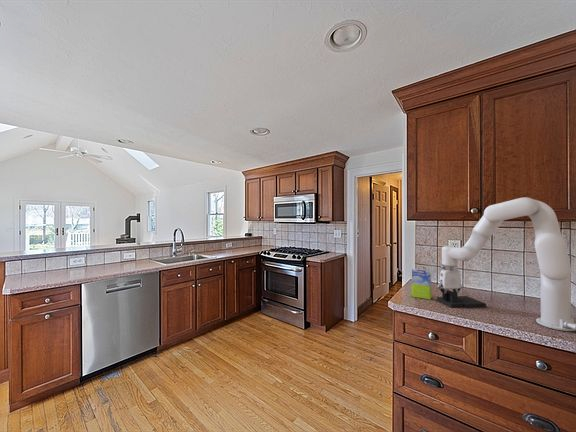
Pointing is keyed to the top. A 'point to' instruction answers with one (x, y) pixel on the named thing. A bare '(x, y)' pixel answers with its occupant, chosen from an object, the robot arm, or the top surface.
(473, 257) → the robot arm
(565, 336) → the top surface
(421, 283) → the box
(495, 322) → the top surface
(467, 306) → the base pad
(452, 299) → the pad
